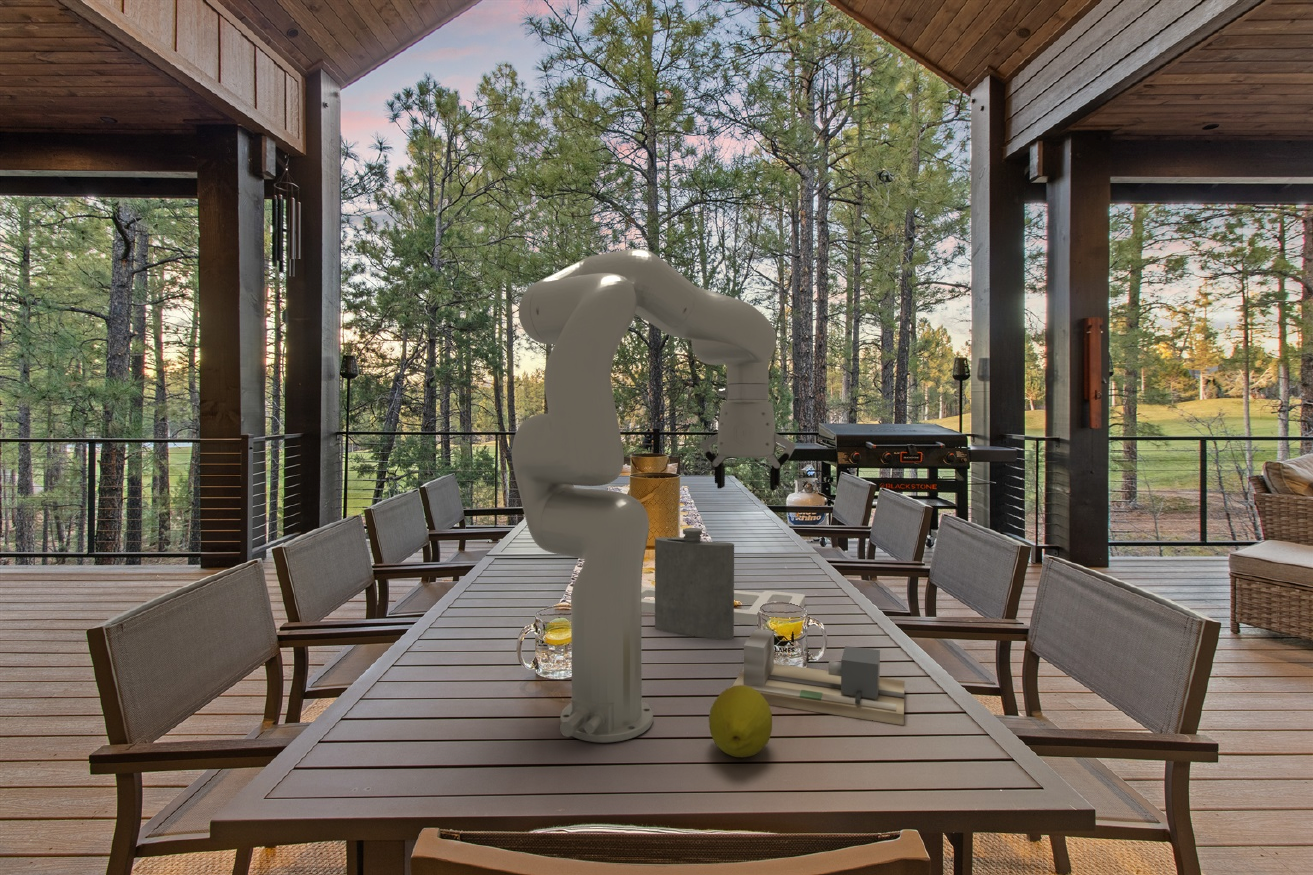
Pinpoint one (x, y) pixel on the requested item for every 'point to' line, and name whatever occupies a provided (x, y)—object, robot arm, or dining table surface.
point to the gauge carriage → (858, 672)
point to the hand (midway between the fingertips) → (746, 488)
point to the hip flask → (694, 586)
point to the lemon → (740, 721)
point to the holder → (742, 596)
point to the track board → (813, 686)
